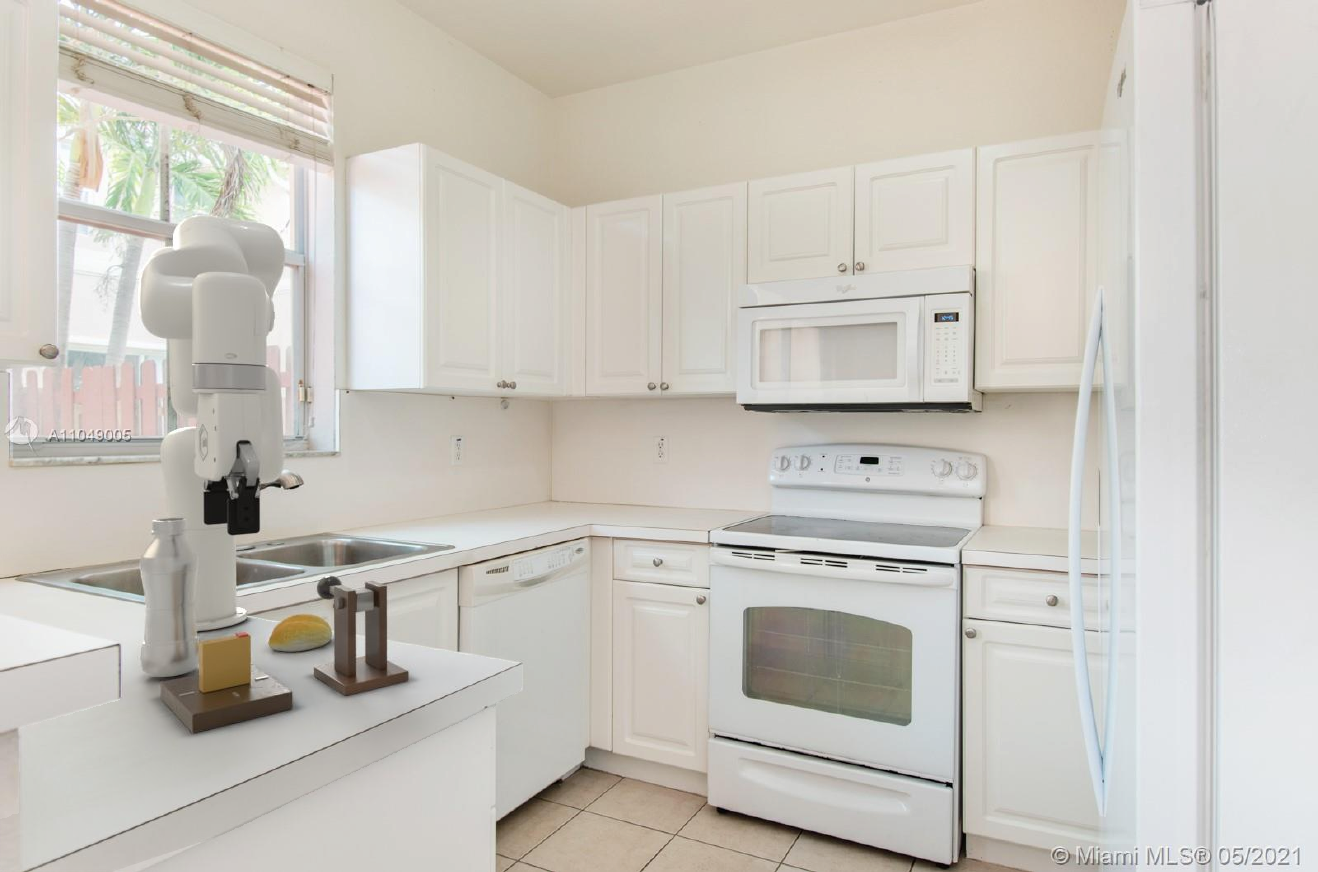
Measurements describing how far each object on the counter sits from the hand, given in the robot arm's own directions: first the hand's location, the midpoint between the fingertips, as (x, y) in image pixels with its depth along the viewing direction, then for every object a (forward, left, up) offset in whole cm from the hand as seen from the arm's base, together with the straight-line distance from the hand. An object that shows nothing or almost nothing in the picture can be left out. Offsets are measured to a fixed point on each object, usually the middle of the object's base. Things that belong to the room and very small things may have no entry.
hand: (230, 528), depth 90 cm
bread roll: (-18, +14, -20) cm, 31 cm away
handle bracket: (+3, +14, -20) cm, 25 cm away
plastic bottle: (-15, -3, -20) cm, 25 cm away
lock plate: (+1, -1, -20) cm, 20 cm away
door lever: (-2, +14, -12) cm, 18 cm away
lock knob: (+1, -1, -18) cm, 18 cm away
